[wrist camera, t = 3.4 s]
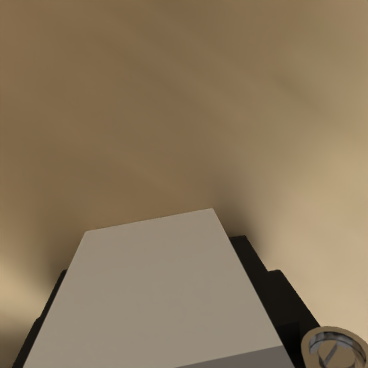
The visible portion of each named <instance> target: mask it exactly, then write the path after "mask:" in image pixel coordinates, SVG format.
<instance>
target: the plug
mask: <svg viewBox="0 0 368 368" xmlns="http://www.w3.org/2000/svg"><path fill="white" fill-rule="evenodd" d="M23 368H294V366H293V364H292V362H291V360H290V358H289V356H288V354H287V352H286V350H285V348H284V346H283V344H282V342H281V340H280V338H279V336H278V334H277V332H276V330H275V328H274V326H273V325H272V323H271V321H270V319H269V317H268V315H267V313H266V311H265V309H264V307H263V305H262V303H261V301H260V299H259V297H258V295H257V293H256V291H255V289H254V287H253V285H252V283H251V282H250V280H249V278H248V276H247V274H246V272H245V270H244V268H243V266H242V264H241V262H240V260H239V258H238V256H237V254H236V252H235V250H234V248H233V246H232V244H231V242H230V240H229V239H228V237H227V235H226V233H225V231H224V229H223V227H222V225H221V223H220V221H219V219H218V217H217V215H216V213H215V211H214V209H213V208H209V209H203V210H198V211H193V212H187V213H182V214H176V215H171V216H166V217H160V218H155V219H149V220H144V221H139V222H133V223H128V224H122V225H117V226H112V227H106V228H101V229H95V230H90V231H85V234H84V236H83V238H82V240H81V242H80V244H79V247H78V249H77V251H76V253H75V255H74V257H73V260H72V262H71V264H70V266H69V268H68V271H67V273H66V275H65V277H64V279H63V281H62V284H61V286H60V288H59V290H58V292H57V294H56V297H55V299H54V301H53V303H52V305H51V308H50V310H49V312H48V314H47V316H46V318H45V321H44V323H43V325H42V327H41V329H40V332H39V334H38V336H37V338H36V340H35V342H34V345H33V347H32V349H31V351H30V353H29V355H28V358H27V360H26V362H25V364H24V366H23Z"/></svg>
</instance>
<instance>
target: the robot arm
mask: <svg viewBox="0 0 368 368" xmlns="http://www.w3.org/2000/svg"><path fill="white" fill-rule="evenodd" d="M228 239H229V240H230V242H231V244H232V246H233V248H234V250H235V252H236V254H237V256H238V258H239V260H240V262H241V264H242V266H243V268H244V270H245V272H246V274H247V276H248V278H249V280H250V282H251V283H252V285H253V287H254V289H255V291H256V293H257V295H258V297H259V299H260V301H261V303H262V305H263V307H264V309H265V311H266V313H267V315H268V317H269V319H270V321H271V323H272V325H273V326H274V328H275V330H276V332H277V334H278V336H279V338H280V340H281V342H282V344H283V346H284V348H285V350H286V352H287V354H288V356H289V358H290V360H291V362H292V364H293V366H294V368H368V344H367V343H366V342H365V341H364V340H363V339H361V338H360V337H359V336H358V335H356V334H354V333H352V332H350V331H348V330H345V329H342V328H338V327H331V326H324V327H321V326H320V325H319V324H318V322H317V321H316V319H315V318H314V317H313V315H312V314H311V312H310V311H309V310H308V308H307V307H306V305H305V304H304V302H303V301H302V300H301V298H300V297H299V295H298V294H297V293H296V291H295V290H294V288H293V287H292V286H291V284H290V283H289V281H288V280H287V278H286V277H285V276H284V274H283V273H282V272H281V271H280V270H273V271H267V269H266V268H265V266H264V264H263V263H262V261H261V260H260V258H259V257H258V255H257V253H256V252H255V250H254V249H253V247H252V246H251V244H250V242H249V241H248V239H247V238H246V236H245V235H244V236H238V237H233V238H228ZM67 271H68V269H67V270H63V271H62V272H61V274H60V277H59V279H58V281H57V283H56V285H55V287H54V289H53V291H52V293H51V295H50V297H49V299H48V301H47V303H46V306H45V308H44V310H43V312H42V314H41V316H40V317H39V318H37V319H36V321H35V322H34V324H33V326H32V328H31V330H30V332H29V334H28V336H27V338H26V340H25V342H24V344H23V346H22V348H21V350H20V352H19V354H18V356H17V358H16V360H15V362H14V364H13V366H12V368H23V366H24V364H25V362H26V360H27V358H28V355H29V353H30V351H31V349H32V347H33V345H34V342H35V340H36V338H37V336H38V334H39V332H40V329H41V327H42V325H43V323H44V321H45V318H46V316H47V314H48V312H49V310H50V308H51V305H52V303H53V301H54V299H55V297H56V294H57V292H58V290H59V288H60V286H61V284H62V281H63V279H64V277H65V275H66V273H67Z"/></svg>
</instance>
